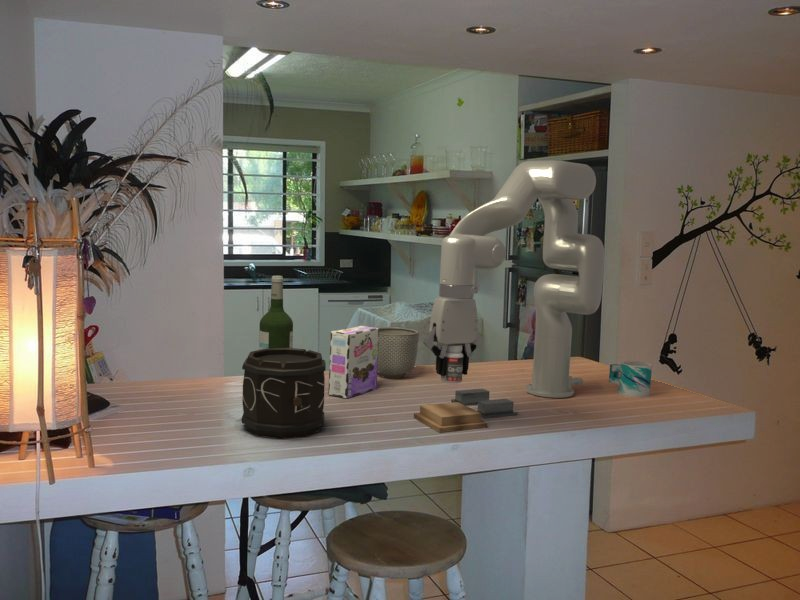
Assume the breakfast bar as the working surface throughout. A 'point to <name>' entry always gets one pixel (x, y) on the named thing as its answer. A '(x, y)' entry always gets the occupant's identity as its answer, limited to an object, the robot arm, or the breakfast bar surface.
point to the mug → (632, 378)
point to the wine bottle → (276, 321)
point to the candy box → (353, 361)
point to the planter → (396, 351)
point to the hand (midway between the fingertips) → (451, 373)
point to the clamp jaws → (485, 403)
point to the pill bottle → (453, 364)
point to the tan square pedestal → (450, 417)
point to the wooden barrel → (283, 392)
